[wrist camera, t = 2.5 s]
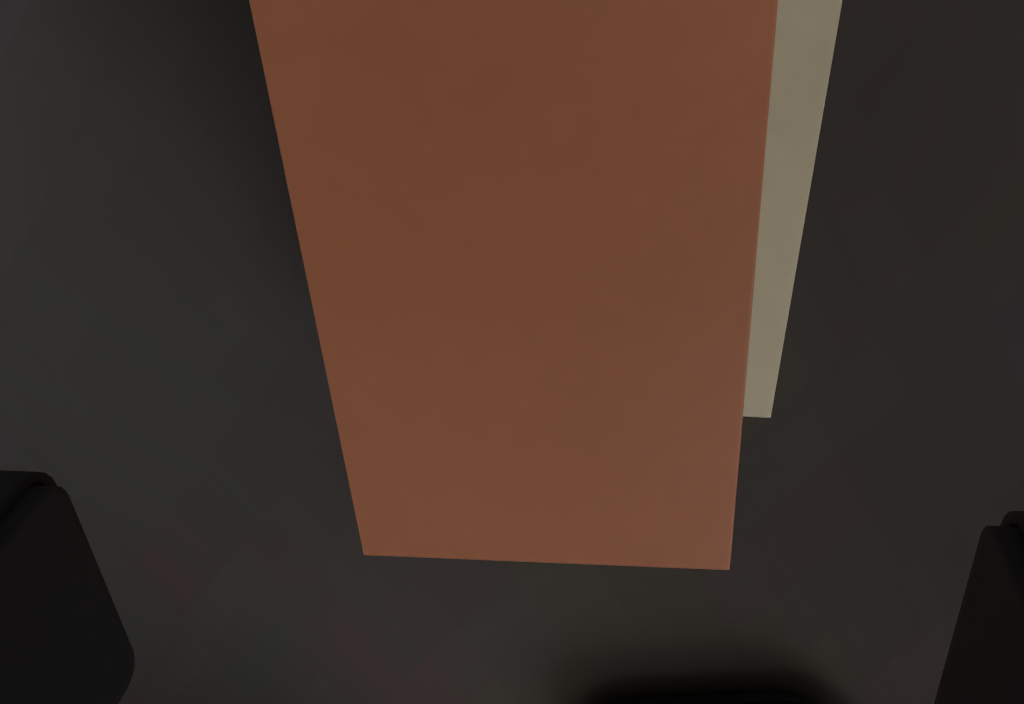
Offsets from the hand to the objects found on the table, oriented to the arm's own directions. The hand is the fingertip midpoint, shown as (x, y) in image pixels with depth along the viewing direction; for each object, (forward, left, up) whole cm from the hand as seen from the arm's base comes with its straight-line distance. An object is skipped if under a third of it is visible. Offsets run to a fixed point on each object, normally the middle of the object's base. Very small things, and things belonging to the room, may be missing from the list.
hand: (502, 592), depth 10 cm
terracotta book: (0, 0, -9) cm, 9 cm away
